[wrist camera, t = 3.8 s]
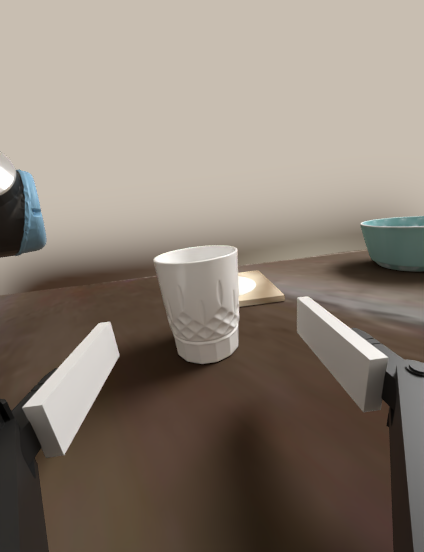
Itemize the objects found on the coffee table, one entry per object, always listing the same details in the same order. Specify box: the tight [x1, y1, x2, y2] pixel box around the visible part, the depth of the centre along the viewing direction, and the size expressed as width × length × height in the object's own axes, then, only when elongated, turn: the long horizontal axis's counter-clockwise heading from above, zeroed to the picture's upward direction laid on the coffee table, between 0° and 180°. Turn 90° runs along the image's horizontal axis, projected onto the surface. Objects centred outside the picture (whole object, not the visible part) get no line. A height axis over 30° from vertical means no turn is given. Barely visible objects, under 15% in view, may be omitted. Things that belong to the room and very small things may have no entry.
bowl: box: [360, 216, 424, 272], centre depth 39 cm, size 16×16×8 cm
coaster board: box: [238, 270, 285, 307], centre depth 37 cm, size 16×14×1 cm
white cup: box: [153, 245, 239, 364], centre depth 22 cm, size 8×8×10 cm
